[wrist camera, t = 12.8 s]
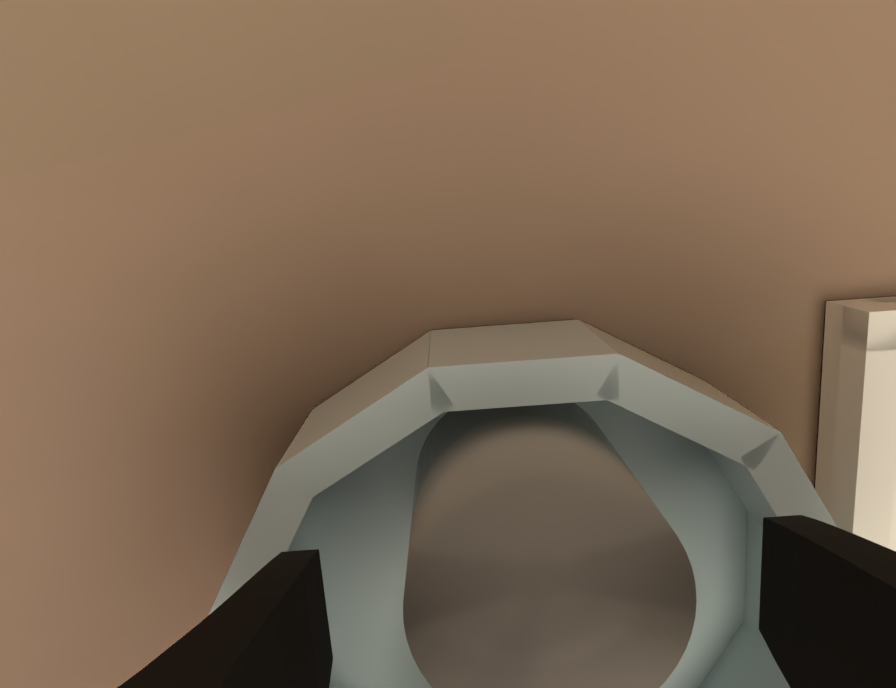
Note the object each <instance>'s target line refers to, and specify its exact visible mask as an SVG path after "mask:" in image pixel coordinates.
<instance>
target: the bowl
mask: <svg viewBox="0 0 896 688" xmlns="http://www.w3.org/2000/svg"><path fill="white" fill-rule="evenodd" d="M573 402H574V403H576V404H577V405H578V406H580V407H581V408H582V409H583V410H584V411H585V412H586V413H588V414H589V415H590V416H591V417H592V419H593V420H594V421H595V422H596V424H597V425H598V426H599V428H600V429H601V430H602V432H603V433H604V435H605V436H606V437H607V439H608V440H609V442H610V443H611V444H612V446H613V447H614V448H615V450H616V451H617V453H618V454H619V455H620V457H621V458H622V460H623V461H624V462H625V464H626V465H627V467H628V468H629V469H630V471H631V472H632V473H633V475H634V476H635V478H636V479H637V480H638V482H639V483H640V485H641V486H642V487H643V489H644V490H645V492H646V493H647V494H648V496H649V497H650V498H651V500H652V501H653V503H654V504H655V505H656V507H657V508H658V510H659V511H660V512H661V514H662V515H663V517H664V518H665V519H666V521H667V522H668V523H669V525H670V526H671V528H672V529H673V530H674V532H675V533H676V535H677V536H678V538H679V540H680V541H681V543H682V545H683V547H684V549H685V550H686V553H687V555H688V558H689V561H690V563H691V566H692V570H693V574H694V579H695V584H696V598H697V603H696V615H695V621H694V626H693V630H692V634H691V637H690V640H689V642H688V645H687V647H686V650H685V652H684V654H683V656H682V658H681V659H680V661H679V663H678V665H677V667H676V668H675V669H674V671H673V672H672V673H671V675H670V676H669V677H668V679H667V680H666V681H665V682H664V683H663V684H662V685H661V687H660V688H790V686H789V684H788V683H787V681H786V679H785V677H784V676H783V674H782V672H781V670H780V668H779V667H778V665H777V663H776V661H775V659H774V658H773V656H772V654H771V652H770V650H769V648H768V646H767V644H766V642H765V640H764V638H763V636H762V634H761V633H760V631H759V608H760V584H761V560H762V535H763V518H764V517H778V516H792V515H803V516H807V517H810V518H813V519H816V520H819V521H822V522H825V523H827V524H830V525H833V526H835V527H837V526H836V524H835V522H834V521H833V519H832V517H831V516H830V514H829V512H828V510H827V509H826V507H825V505H824V504H823V502H822V500H821V499H820V497H819V495H818V494H817V492H816V490H815V489H814V487H813V485H812V483H811V482H810V480H809V478H808V477H807V475H806V473H805V472H804V470H803V468H802V467H801V465H800V463H799V461H798V460H797V458H796V456H795V455H794V453H793V451H792V450H791V448H790V446H789V445H788V443H787V441H786V440H785V438H784V436H783V434H782V433H781V432H780V431H779V430H777V429H776V428H774V427H773V426H771V425H770V424H768V423H767V422H765V421H764V420H762V419H761V418H759V417H758V416H756V415H755V414H753V413H752V412H750V411H749V410H747V409H746V408H744V407H743V406H741V405H740V404H738V403H737V402H735V401H734V400H732V399H731V398H729V397H728V396H726V395H725V394H723V393H722V392H720V391H719V390H717V389H716V388H714V387H713V386H711V385H710V384H708V383H707V382H705V381H704V380H702V379H699V378H697V377H695V376H693V375H691V374H689V373H687V372H685V371H683V370H681V369H679V368H677V367H675V366H673V365H671V364H669V363H667V362H665V361H663V360H660V359H658V358H656V357H654V356H652V355H650V354H648V353H646V352H644V351H642V350H640V349H638V348H636V347H634V346H632V345H630V344H628V343H626V342H624V341H621V340H619V339H617V338H615V337H613V336H611V335H609V334H607V333H605V332H603V331H601V330H599V329H597V328H595V327H593V326H591V325H589V324H587V323H585V322H582V321H580V320H578V319H577V320H564V321H550V322H536V323H523V324H509V325H495V326H481V327H468V328H454V329H440V330H430V331H429V332H427V333H426V334H424V335H423V336H421V337H420V338H418V339H417V340H415V341H414V342H412V343H411V344H409V345H408V346H406V347H405V348H404V349H402V350H401V351H399V352H398V353H396V354H395V355H393V356H392V357H390V358H389V359H387V360H386V361H384V362H383V363H381V364H380V365H378V366H377V367H375V368H374V369H372V370H371V371H369V372H368V373H366V374H365V375H363V376H362V377H360V378H359V379H357V380H356V381H354V382H353V383H351V384H350V385H348V386H347V387H345V388H344V389H342V390H341V391H339V392H338V393H336V394H335V395H333V396H332V397H330V398H329V399H327V400H326V401H324V402H323V403H321V404H320V405H318V406H317V407H315V408H314V409H313V410H312V411H311V413H310V414H309V416H308V417H307V419H306V420H305V422H304V424H303V425H302V427H301V428H300V430H299V432H298V433H297V435H296V436H295V438H294V440H293V441H292V443H291V444H290V446H289V447H288V449H287V451H286V452H285V454H284V455H283V457H282V459H281V460H280V462H279V463H278V465H277V466H276V468H275V470H274V472H273V474H272V477H271V479H270V481H269V483H268V485H267V488H266V490H265V492H264V494H263V496H262V498H261V501H260V503H259V505H258V507H257V509H256V512H255V514H254V516H253V518H252V520H251V523H250V525H249V527H248V529H247V531H246V534H245V536H244V538H243V540H242V542H241V545H240V547H239V549H238V551H237V553H236V556H235V558H234V560H233V562H232V564H231V567H230V569H229V571H228V573H227V575H226V578H225V580H224V582H223V584H222V586H221V588H220V591H219V593H218V595H217V597H216V599H215V602H214V604H213V606H212V608H211V610H210V613H209V615H210V614H211V613H212V612H213V611H214V610H215V609H217V608H218V607H219V606H220V605H221V604H222V603H223V602H225V601H226V600H227V599H228V598H229V597H230V596H231V595H232V594H234V593H235V592H236V591H237V590H238V589H239V588H240V587H241V586H243V585H244V584H245V583H246V582H247V581H248V580H249V579H250V578H251V577H253V576H254V575H255V574H256V573H257V572H258V571H259V570H260V569H262V568H263V567H264V566H265V565H266V564H267V563H268V562H270V561H271V560H272V559H273V558H274V557H276V556H277V555H278V554H279V553H281V552H286V551H300V550H314V549H319V554H320V562H321V569H322V577H323V585H324V593H325V600H326V608H327V616H328V623H329V631H330V639H331V647H332V654H333V663H332V670H331V678H330V685H329V688H432V687H431V686H430V684H429V683H428V682H427V680H426V679H425V677H424V676H423V675H422V673H421V672H420V670H419V668H418V666H417V664H416V662H415V660H414V659H413V657H412V654H411V651H410V648H409V645H408V642H407V639H406V634H405V629H404V623H403V599H404V589H405V579H406V569H407V559H408V549H409V539H410V529H411V519H412V509H413V499H414V489H415V478H416V470H417V463H418V459H419V455H420V452H421V449H422V447H423V445H424V442H425V440H426V438H427V437H428V435H429V433H430V432H431V430H432V429H433V427H434V426H435V425H436V423H437V422H438V421H439V420H440V419H441V418H442V417H443V416H444V415H445V414H446V413H447V412H448V411H462V410H476V409H490V408H504V407H518V406H532V405H545V404H559V403H573ZM209 615H208V616H209Z"/></svg>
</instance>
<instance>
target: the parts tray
mask: <svg viewBox="0 0 896 688" xmlns="http://www.w3.org/2000/svg"><path fill="white" fill-rule="evenodd" d="M815 490H816V492H817V494H818V495H819V497H820V499H821V500H822V502H823V504H824V505H825V507H826V509H827V510H828V512H829V514H830V516H831V517H832V519H833V521H834V522H835V524H836V526H837V527H838V528H840V529H843V530H845V531H848V532H850V533H853V534H855V535H858V536H860V537H862V538H865V539H867V540H870V541H872V542H874V543H877V544H879V545H881V546H884V547H886V548H889V549H891V550H893V551H896V296H892V297H879V298H865V299H851V300H838V301H826V314H825V331H824V347H823V364H822V381H821V397H820V414H819V431H818V447H817V464H816V480H815Z"/></svg>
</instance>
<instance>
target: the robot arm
mask: <svg viewBox="0 0 896 688" xmlns="http://www.w3.org/2000/svg"><path fill="white" fill-rule="evenodd" d="M759 631H760V633H761V634H762V636H763V638H764V640H765V642H766V644H767V646H768V648H769V650H770V652H771V654H772V656H773V658H774V659H775V661H776V663H777V665H778V667H779V668H780V670H781V672H782V674H783V676H784V677H785V679H786V681H787V683H788V684H789V686H790V688H896V551H893V550H891V549H889V548H886V547H884V546H881V545H879V544H877V543H874V542H872V541H870V540H867V539H865V538H862V537H860V536H858V535H855V534H853V533H850V532H848V531H845V530H843V529H840V528H838V527H835V526H833V525H830V524H827V523H825V522H822V521H819V520H816V519H813V518H810V517H807V516H803V515H792V516H778V517H764V518H763V535H762V560H761V584H760V608H759ZM332 663H333V654H332V647H331V639H330V631H329V623H328V616H327V608H326V600H325V593H324V585H323V577H322V569H321V562H320V554H319V549H314V550H300V551H286V552H281V553H279V554H278V555H277V556H276V557H274V558H273V559H272V560H271V561H270V562H268V563H267V564H266V565H265V566H264V567H263V568H262V569H260V570H259V571H258V572H257V573H256V574H255V575H254V576H253V577H251V578H250V579H249V580H248V581H247V582H246V583H245V584H244V585H243V586H241V587H240V588H239V589H238V590H237V591H236V592H235V593H234V594H232V595H231V596H230V597H229V598H228V599H227V600H226V601H225V602H223V603H222V604H221V605H220V606H219V607H218V608H217V609H215V610H214V611H213V612H212V613H211V614H210V615H209V616H207V617H206V618H205V619H204V620H203V621H202V622H201V623H199V624H198V625H197V626H196V627H195V628H193V629H192V630H191V631H190V632H188V633H187V634H186V635H185V636H183V637H182V638H181V639H180V640H178V641H177V642H176V643H175V644H173V645H172V646H171V647H170V648H168V649H167V650H166V651H165V652H163V653H162V654H161V655H160V656H158V657H157V658H156V659H155V660H153V661H152V662H151V663H150V664H148V665H147V666H146V667H145V668H143V669H142V670H141V671H139V672H138V673H137V674H135V675H134V676H133V677H131V678H130V679H129V680H127V681H126V682H125V683H123V684H122V685H120V686H119V687H118V688H329V685H330V678H331V670H332Z"/></svg>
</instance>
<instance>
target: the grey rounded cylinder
mask: <svg viewBox="0 0 896 688" xmlns="http://www.w3.org/2000/svg"><path fill="white" fill-rule="evenodd" d="M696 603H697V598H696V584H695V579H694V574H693V570H692V566H691V563H690V561H689V558H688V555H687V553H686V550H685V549H684V547H683V545H682V543H681V541H680V540H679V538H678V536H677V535H676V533H675V532H674V530H673V529H672V528H671V526H670V525H669V523H668V522H667V521H666V519H665V518H664V517H663V515H662V514H661V512H660V511H659V510H658V508H657V507H656V505H655V504H654V503H653V501H652V500H651V498H650V497H649V496H648V494H647V493H646V492H645V490H644V489H643V487H642V486H641V485H640V483H639V482H638V480H637V479H636V478H635V476H634V475H633V473H632V472H631V471H630V469H629V468H628V467H627V465H626V464H625V462H624V461H623V460H622V458H621V457H620V455H619V454H618V453H617V451H616V450H615V448H614V447H613V446H612V444H611V443H610V442H609V440H608V439H607V437H606V436H605V435H604V433H603V432H602V430H601V429H600V428H599V426H598V425H597V424H596V422H595V421H594V420H593V419H592V417H591V416H590V415H589V414H588V413H586V412H585V411H584V410H583V409H582V408H581V407H580V406H578V405H577V404H576V403H574V402H573V403H559V404H545V405H532V406H518V407H504V408H490V409H476V410H462V411H448V412H447V413H446V414H445V415H444V416H443V417H442V418H441V419H440V420H439V421H438V422H437V423H436V425H435V426H434V427H433V429H432V430H431V432H430V433H429V435H428V437H427V438H426V440H425V442H424V445H423V447H422V449H421V452H420V455H419V459H418V463H417V470H416V478H415V489H414V499H413V509H412V519H411V529H410V539H409V549H408V559H407V569H406V579H405V589H404V599H403V623H404V629H405V634H406V639H407V642H408V645H409V648H410V651H411V654H412V657H413V659H414V660H415V662H416V664H417V666H418V668H419V670H420V672H421V673H422V675H423V676H424V677H425V679H426V680H427V682H428V683H429V684H430V686H431V687H432V688H660V687H661V685H662V684H663V683H664V682H665V681H666V680H667V679H668V677H669V676H670V675H671V673H672V672H673V671H674V669H675V668H676V667H677V665H678V663H679V661H680V659H681V658H682V656H683V654H684V652H685V650H686V647H687V645H688V642H689V640H690V637H691V634H692V630H693V626H694V621H695V615H696Z"/></svg>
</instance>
